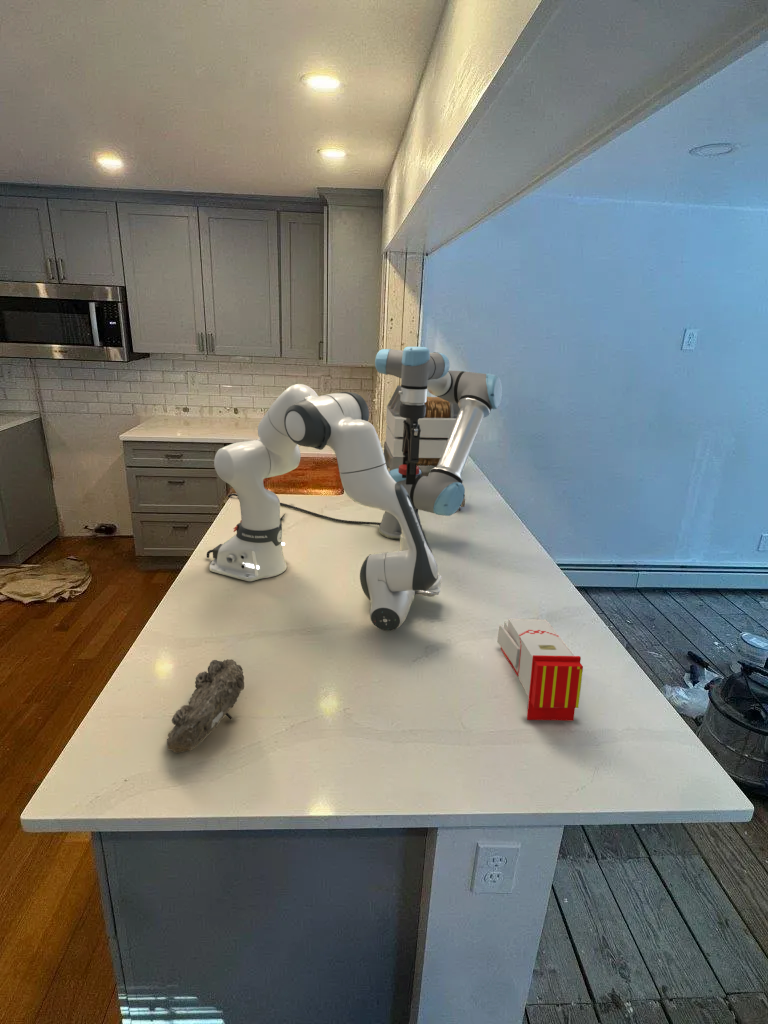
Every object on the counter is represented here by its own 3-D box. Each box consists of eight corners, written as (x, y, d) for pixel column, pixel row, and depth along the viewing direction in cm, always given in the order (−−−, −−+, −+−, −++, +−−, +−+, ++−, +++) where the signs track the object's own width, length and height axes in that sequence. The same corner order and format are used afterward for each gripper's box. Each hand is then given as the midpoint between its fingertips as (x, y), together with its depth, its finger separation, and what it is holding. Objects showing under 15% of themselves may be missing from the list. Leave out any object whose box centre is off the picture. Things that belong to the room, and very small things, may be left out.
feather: (292, 507, 224) (294, 503, 223) (275, 531, 197) (278, 527, 197) (288, 505, 224) (291, 501, 223) (271, 528, 197) (273, 524, 197)
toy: (543, 604, 136) (592, 662, 106) (538, 656, 138) (584, 727, 109) (493, 603, 135) (528, 661, 106) (489, 655, 138) (522, 726, 109)
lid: (417, 476, 165) (418, 470, 165) (396, 474, 166) (397, 468, 166) (420, 470, 171) (420, 465, 170) (400, 469, 172) (400, 463, 171)
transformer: (382, 463, 289) (386, 382, 275) (445, 464, 293) (451, 384, 279) (390, 482, 257) (394, 392, 243) (460, 483, 261) (468, 394, 247)
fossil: (192, 660, 117) (244, 628, 112) (224, 691, 120) (276, 661, 115) (142, 746, 98) (202, 712, 93) (182, 779, 101) (242, 748, 96)
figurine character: (465, 515, 224) (460, 499, 237) (467, 498, 221) (462, 483, 234) (448, 515, 224) (444, 499, 237) (450, 498, 220) (445, 482, 234)
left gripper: (439, 584, 144) (446, 562, 156) (361, 573, 148) (374, 553, 160) (437, 606, 146) (444, 583, 159) (360, 595, 150) (373, 573, 163)
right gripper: (394, 397, 170) (391, 472, 178) (406, 408, 152) (401, 490, 160) (419, 398, 171) (414, 472, 179) (433, 409, 153) (427, 490, 161)
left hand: (408, 568), depth 160 cm, fingers closed on jar, 5 cm apart
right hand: (408, 480), depth 169 cm, fingers closed on lid, 6 cm apart
